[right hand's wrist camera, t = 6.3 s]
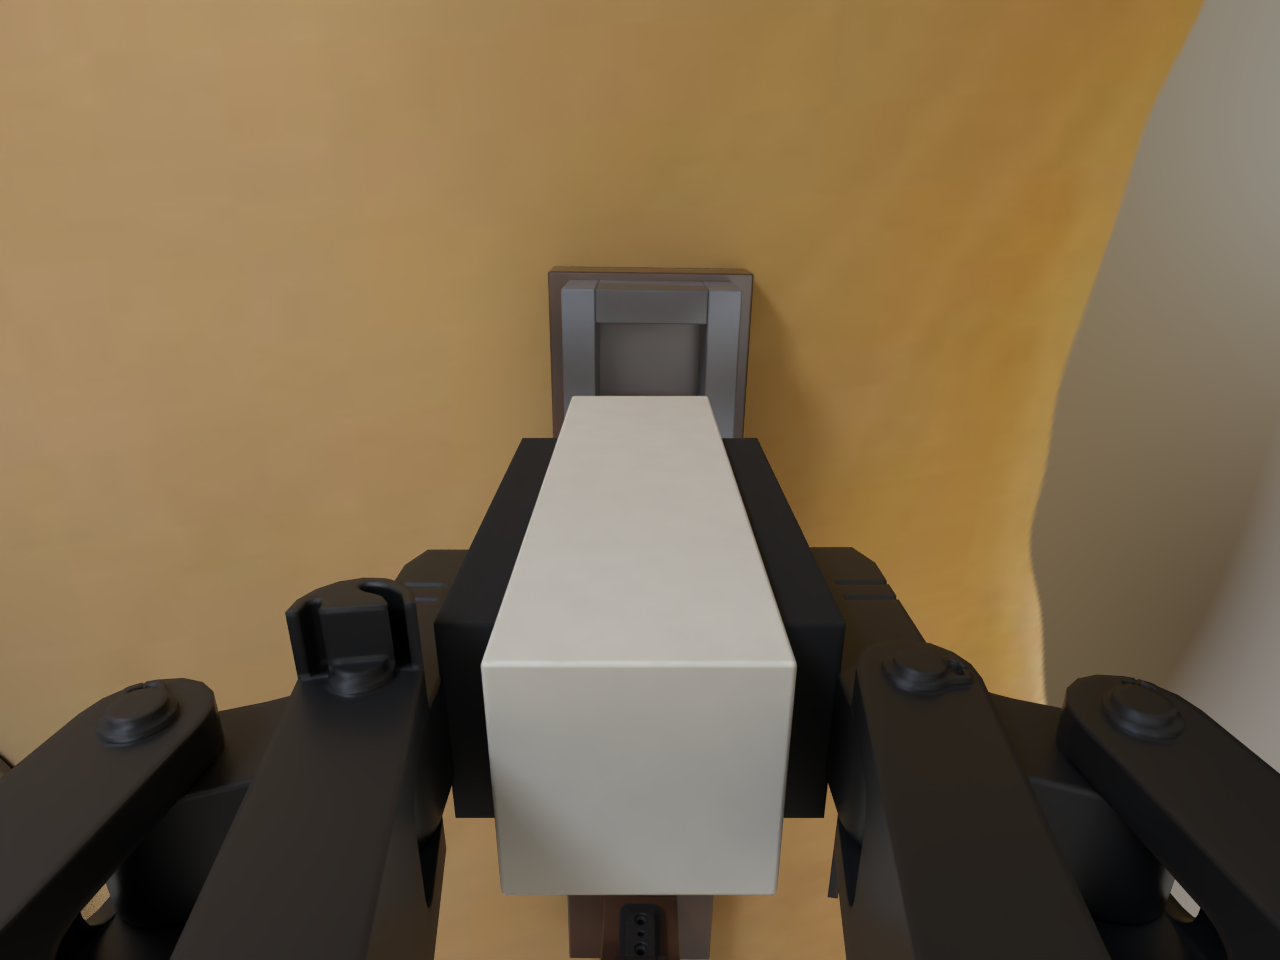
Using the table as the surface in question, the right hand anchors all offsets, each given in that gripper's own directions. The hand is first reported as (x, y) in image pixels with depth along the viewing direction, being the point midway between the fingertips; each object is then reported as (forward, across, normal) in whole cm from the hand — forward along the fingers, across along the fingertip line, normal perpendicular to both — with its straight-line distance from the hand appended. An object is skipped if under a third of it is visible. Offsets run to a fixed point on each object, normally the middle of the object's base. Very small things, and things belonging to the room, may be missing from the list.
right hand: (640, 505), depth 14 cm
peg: (+3, 0, 0) cm, 3 cm away
